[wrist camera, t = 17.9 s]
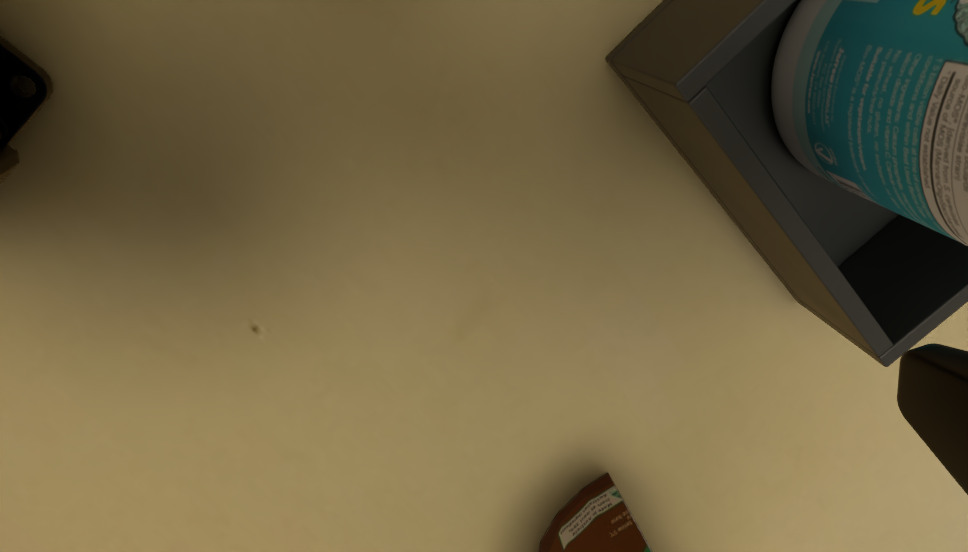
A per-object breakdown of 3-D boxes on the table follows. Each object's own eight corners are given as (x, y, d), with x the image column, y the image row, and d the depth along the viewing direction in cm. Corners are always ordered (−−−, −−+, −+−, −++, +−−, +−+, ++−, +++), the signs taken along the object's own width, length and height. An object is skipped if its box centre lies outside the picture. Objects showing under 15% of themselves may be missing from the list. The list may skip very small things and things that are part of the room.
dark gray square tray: (603, 57, 20) (674, 85, 16) (949, -281, 18) (1127, -347, 14) (798, 303, 25) (886, 368, 21) (1079, 62, 23) (1234, 85, 19)
